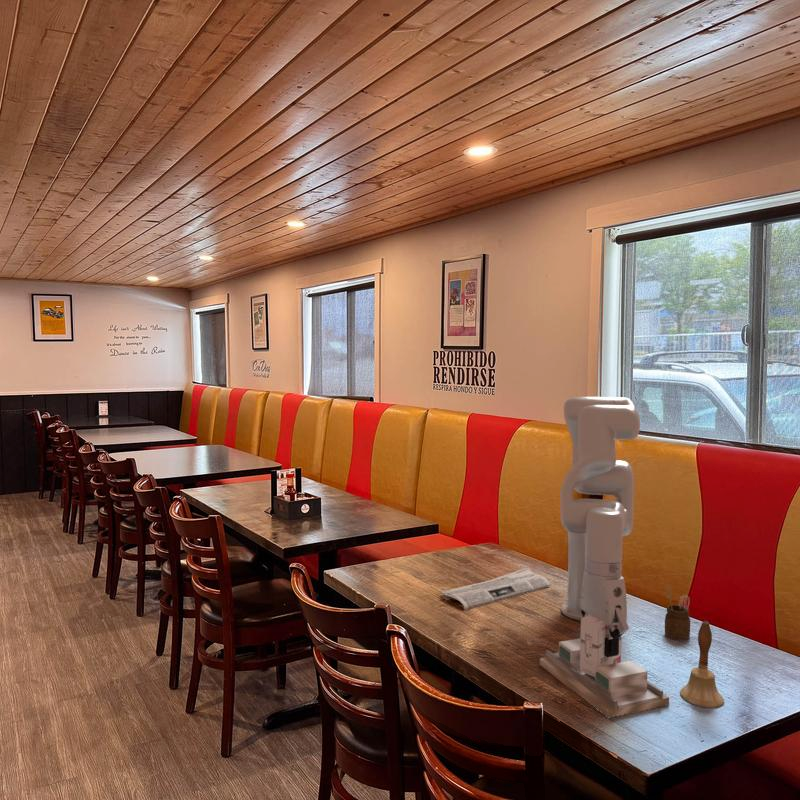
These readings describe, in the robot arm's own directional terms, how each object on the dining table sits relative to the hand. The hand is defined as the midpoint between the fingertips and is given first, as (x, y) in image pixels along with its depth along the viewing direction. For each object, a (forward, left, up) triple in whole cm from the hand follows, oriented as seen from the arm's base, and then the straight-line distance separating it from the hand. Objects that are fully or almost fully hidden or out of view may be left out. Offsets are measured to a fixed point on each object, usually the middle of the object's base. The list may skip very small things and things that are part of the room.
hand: (601, 648), depth 141 cm
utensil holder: (-34, -14, -8) cm, 37 cm away
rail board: (0, 0, -8) cm, 8 cm away
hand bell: (-16, +12, -8) cm, 22 cm away
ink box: (0, 0, -5) cm, 5 cm away
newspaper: (-6, -57, -8) cm, 58 cm away
